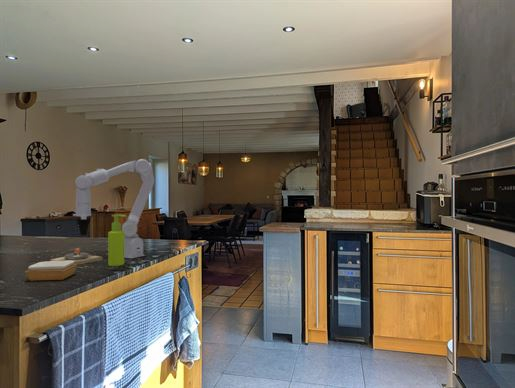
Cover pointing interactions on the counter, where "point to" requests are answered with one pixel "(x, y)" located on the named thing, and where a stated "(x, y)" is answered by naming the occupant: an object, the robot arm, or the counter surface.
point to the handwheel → (76, 255)
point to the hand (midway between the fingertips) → (83, 235)
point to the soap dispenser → (116, 243)
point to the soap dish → (51, 270)
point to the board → (79, 261)
